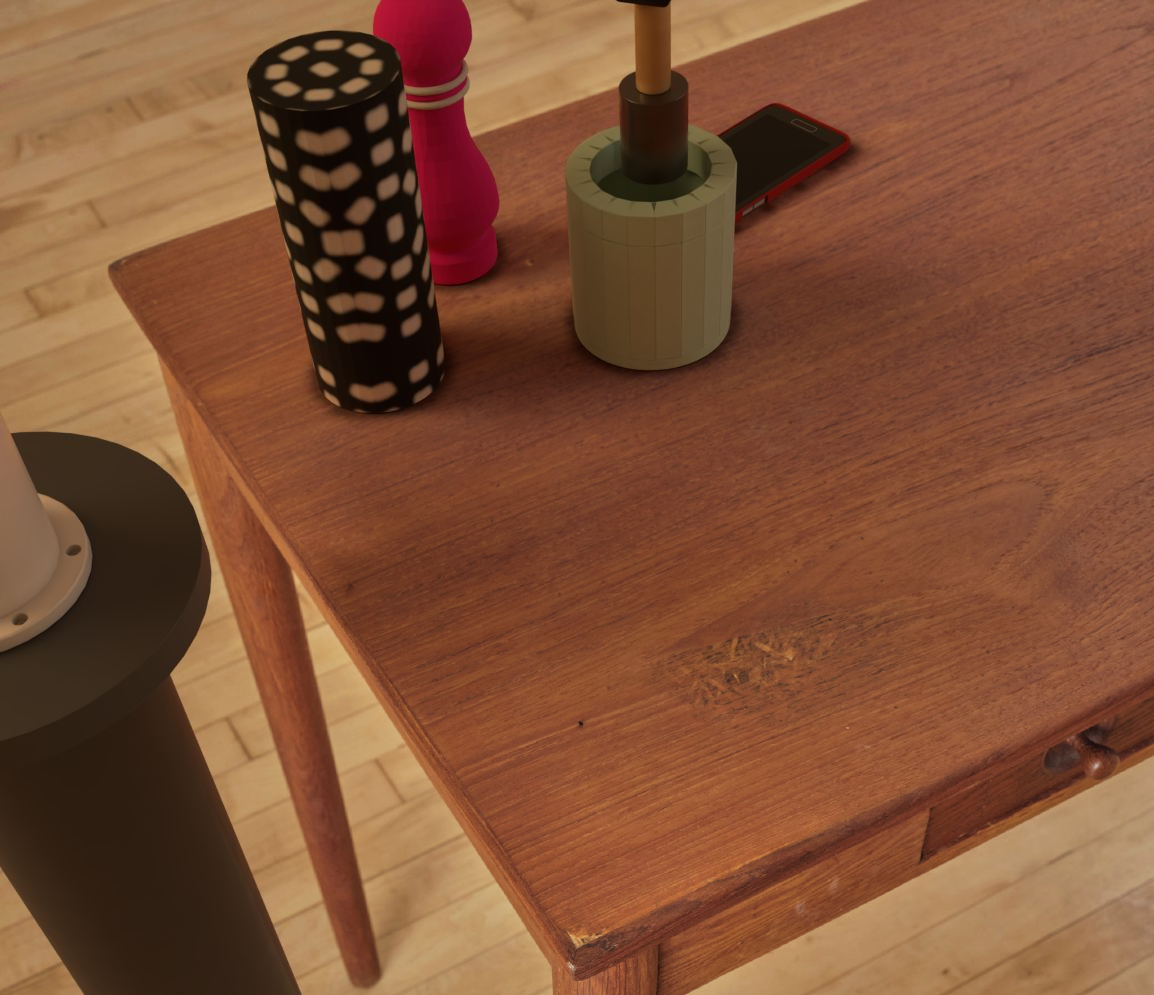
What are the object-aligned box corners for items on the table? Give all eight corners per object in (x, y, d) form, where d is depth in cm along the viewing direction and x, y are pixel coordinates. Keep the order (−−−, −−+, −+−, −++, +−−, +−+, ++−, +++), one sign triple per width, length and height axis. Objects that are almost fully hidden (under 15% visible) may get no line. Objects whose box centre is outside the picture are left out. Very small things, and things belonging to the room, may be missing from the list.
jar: (589, 381, 95) (581, 227, 86) (562, 286, 101) (552, 133, 92) (746, 357, 95) (754, 202, 87) (710, 264, 101) (714, 110, 93)
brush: (628, 189, 88) (619, -99, 75) (615, 152, 90) (605, -133, 78) (694, 179, 88) (697, -109, 75) (680, 143, 91) (680, -143, 78)
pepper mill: (516, 277, 102) (488, -24, 86) (413, 299, 101) (364, 0, 85) (490, 219, 106) (458, -78, 90) (391, 240, 105) (340, -56, 89)
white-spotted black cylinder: (291, 375, 97) (215, 75, 81) (388, 314, 100) (334, 15, 84) (374, 431, 93) (312, 129, 77) (472, 367, 96) (432, 63, 80)
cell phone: (854, 149, 109) (855, 137, 108) (716, 238, 103) (717, 226, 102) (774, 111, 112) (774, 99, 111) (636, 196, 106) (636, 183, 106)
